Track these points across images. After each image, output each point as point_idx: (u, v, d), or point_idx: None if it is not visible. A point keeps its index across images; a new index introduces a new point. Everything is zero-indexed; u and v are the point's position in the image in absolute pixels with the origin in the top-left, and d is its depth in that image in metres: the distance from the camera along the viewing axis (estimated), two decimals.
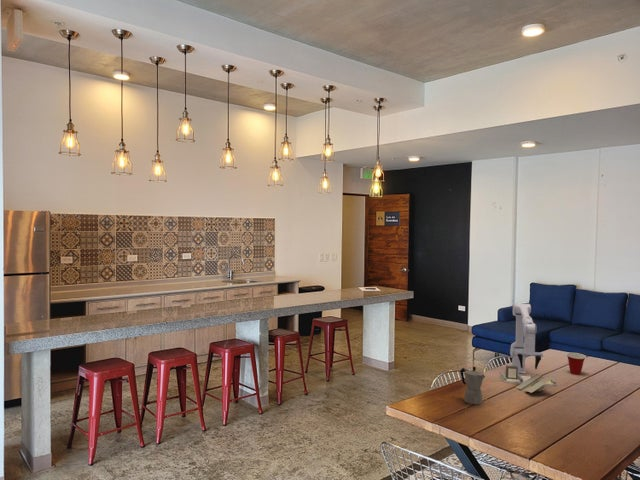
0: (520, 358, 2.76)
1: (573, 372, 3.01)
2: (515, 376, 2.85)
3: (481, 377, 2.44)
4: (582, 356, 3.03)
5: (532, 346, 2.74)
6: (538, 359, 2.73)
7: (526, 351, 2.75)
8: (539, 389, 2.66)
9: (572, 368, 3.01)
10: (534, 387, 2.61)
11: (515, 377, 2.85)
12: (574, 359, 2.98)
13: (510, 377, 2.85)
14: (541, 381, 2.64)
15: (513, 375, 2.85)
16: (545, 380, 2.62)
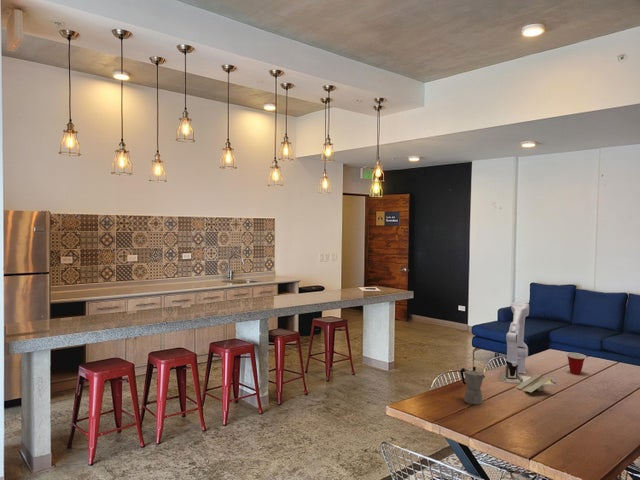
0: (506, 363, 2.90)
1: (573, 372, 3.01)
2: (515, 376, 2.85)
3: (481, 377, 2.44)
4: (582, 356, 3.03)
5: (508, 353, 2.86)
6: (508, 365, 2.84)
7: None
8: (539, 389, 2.66)
9: (572, 368, 3.01)
10: (534, 387, 2.61)
11: (515, 377, 2.85)
12: (574, 359, 2.98)
13: (510, 377, 2.85)
14: (541, 381, 2.64)
15: None
16: (545, 380, 2.62)
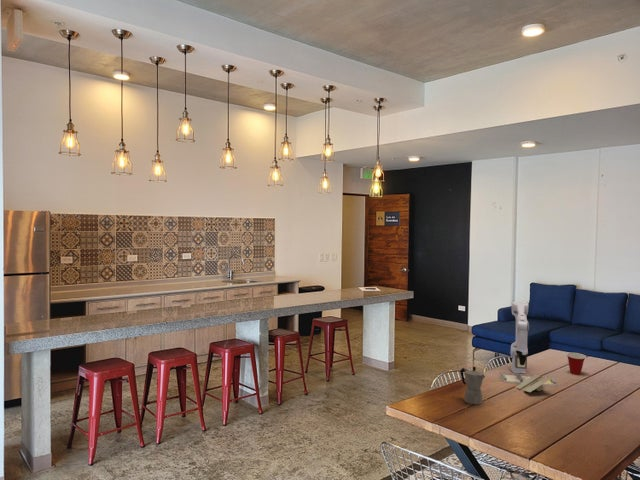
0: (516, 352, 2.89)
1: (573, 372, 3.01)
2: (524, 365, 2.84)
3: (481, 377, 2.44)
4: (582, 356, 3.03)
5: (517, 342, 2.85)
6: (518, 354, 2.83)
7: None
8: (538, 389, 2.66)
9: (572, 368, 3.01)
10: (533, 387, 2.62)
11: (524, 366, 2.84)
12: (574, 359, 2.98)
13: (519, 366, 2.84)
14: (540, 381, 2.64)
15: None
16: (544, 380, 2.62)
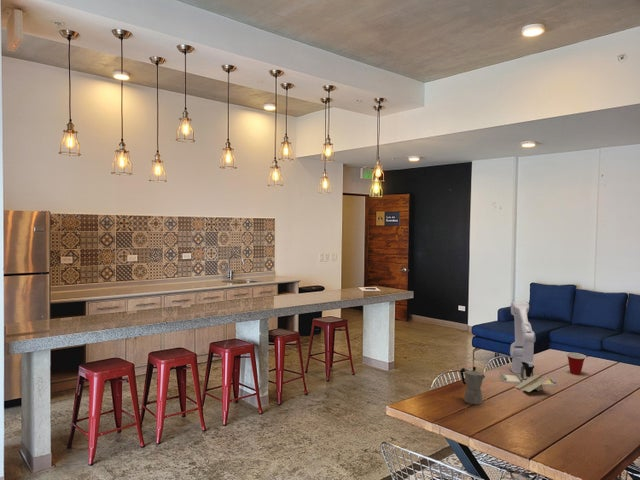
0: (522, 364, 2.88)
1: (573, 372, 3.01)
2: None
3: (481, 377, 2.44)
4: (582, 356, 3.03)
5: (524, 353, 2.84)
6: (524, 366, 2.82)
7: None
8: (538, 389, 2.66)
9: (572, 368, 3.01)
10: (532, 387, 2.62)
11: None
12: (574, 359, 2.98)
13: (525, 378, 2.84)
14: (539, 381, 2.65)
15: None
16: (544, 380, 2.63)
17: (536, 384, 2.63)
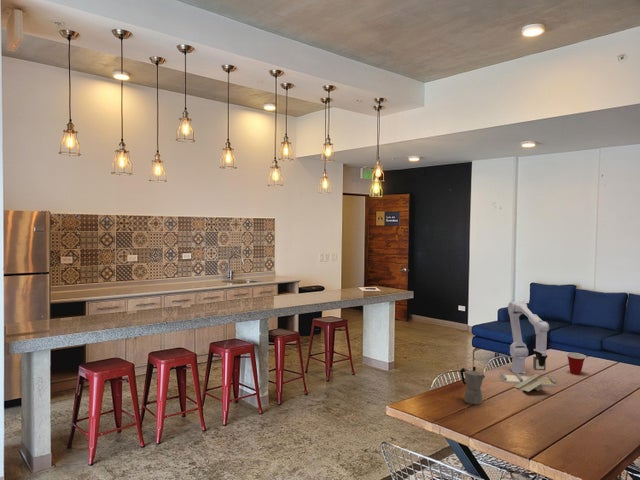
0: (535, 353, 2.87)
1: (573, 372, 3.01)
2: (543, 367, 2.82)
3: (481, 377, 2.44)
4: (582, 356, 3.03)
5: (537, 343, 2.83)
6: (537, 355, 2.81)
7: None
8: (537, 388, 2.66)
9: (572, 368, 3.01)
10: (532, 386, 2.62)
11: (543, 368, 2.82)
12: (574, 359, 2.98)
13: (538, 368, 2.82)
14: (539, 380, 2.65)
15: (541, 366, 2.82)
16: (543, 380, 2.63)
17: (535, 384, 2.63)
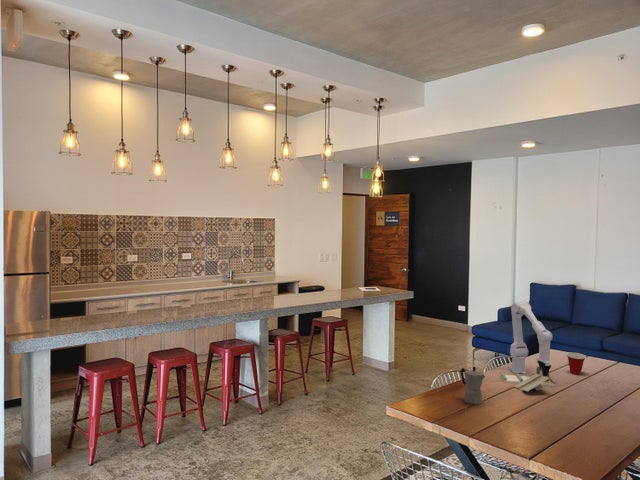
0: (538, 362, 2.88)
1: (573, 372, 3.01)
2: None
3: (481, 377, 2.44)
4: (582, 356, 3.03)
5: (540, 352, 2.82)
6: (541, 366, 2.80)
7: None
8: (537, 388, 2.67)
9: (572, 368, 3.01)
10: (531, 386, 2.63)
11: None
12: (574, 359, 2.98)
13: None
14: (538, 380, 2.65)
15: None
16: (543, 380, 2.63)
17: (535, 383, 2.63)
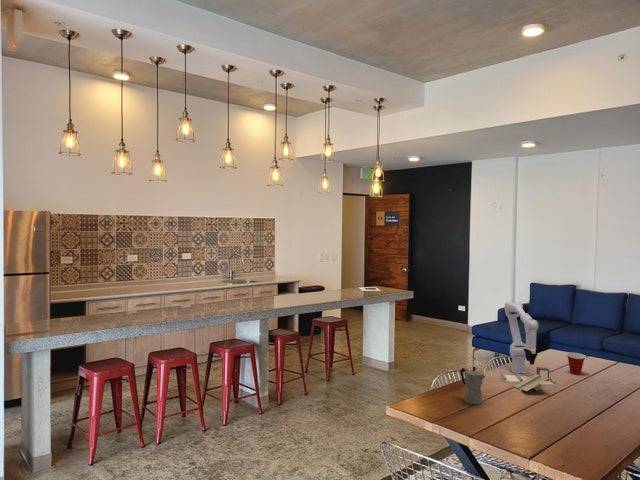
0: (524, 350, 2.94)
1: (573, 372, 3.01)
2: None
3: (481, 377, 2.44)
4: (582, 356, 3.03)
5: (526, 341, 2.88)
6: (528, 354, 2.85)
7: None
8: (536, 388, 2.67)
9: (572, 368, 3.01)
10: (530, 386, 2.63)
11: None
12: (574, 359, 2.99)
13: None
14: (538, 380, 2.65)
15: None
16: (542, 380, 2.63)
17: (534, 384, 2.64)
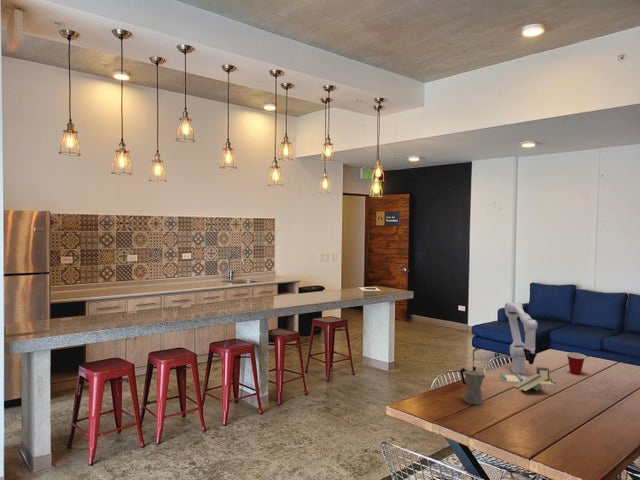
0: (523, 350, 2.95)
1: (573, 372, 3.01)
2: None
3: (481, 377, 2.44)
4: (582, 356, 3.03)
5: (526, 340, 2.88)
6: (527, 354, 2.85)
7: None
8: (536, 388, 2.67)
9: (572, 368, 3.01)
10: (530, 386, 2.63)
11: (546, 379, 2.81)
12: (574, 359, 2.99)
13: None
14: (537, 380, 2.65)
15: None
16: (541, 380, 2.63)
17: (533, 383, 2.64)
